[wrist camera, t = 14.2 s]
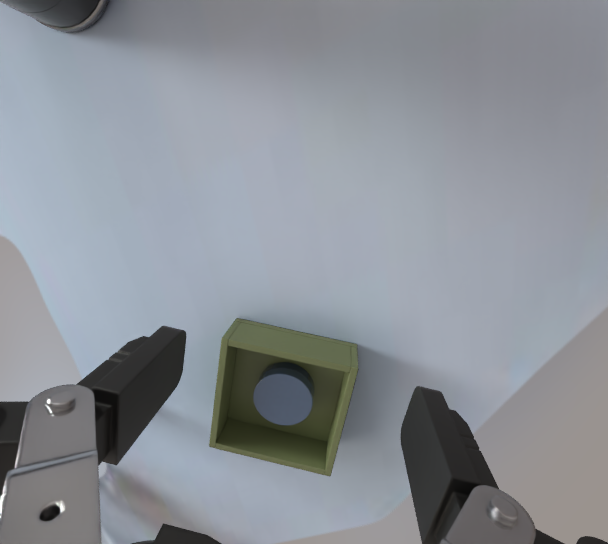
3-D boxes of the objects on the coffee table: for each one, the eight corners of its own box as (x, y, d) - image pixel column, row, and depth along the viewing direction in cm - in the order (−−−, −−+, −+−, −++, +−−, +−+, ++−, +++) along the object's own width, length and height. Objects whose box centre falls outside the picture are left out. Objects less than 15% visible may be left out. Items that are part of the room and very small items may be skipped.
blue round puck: (255, 403, 40) (249, 418, 37) (262, 356, 38) (257, 368, 36) (309, 416, 39) (306, 431, 37) (319, 368, 37) (318, 381, 35)
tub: (224, 416, 42) (208, 446, 37) (236, 317, 38) (221, 338, 33) (332, 442, 41) (330, 476, 36) (357, 344, 37) (358, 368, 32)
